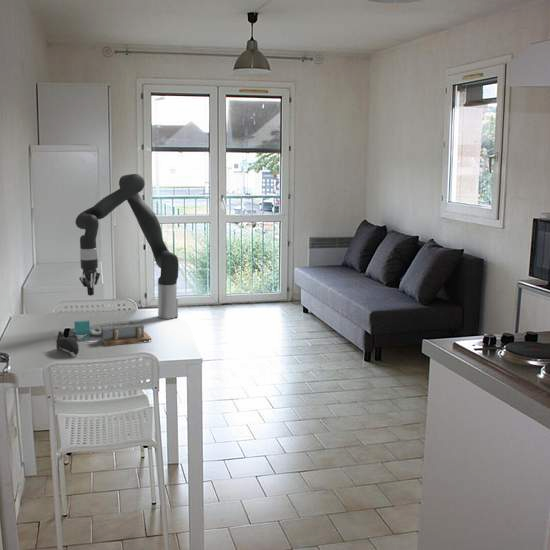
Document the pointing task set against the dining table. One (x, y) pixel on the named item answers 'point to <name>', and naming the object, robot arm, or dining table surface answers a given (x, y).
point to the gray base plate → (90, 337)
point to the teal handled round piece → (85, 328)
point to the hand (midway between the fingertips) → (90, 295)
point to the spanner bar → (121, 331)
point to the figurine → (67, 344)
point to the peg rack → (127, 339)
